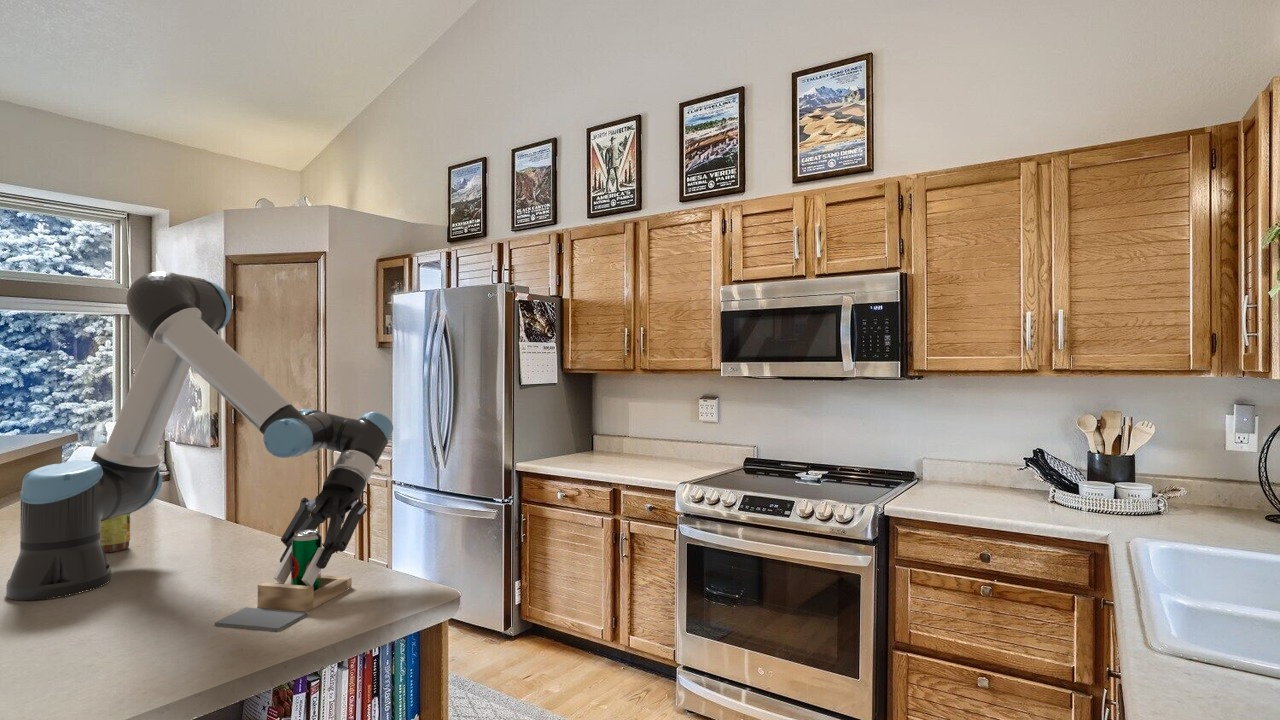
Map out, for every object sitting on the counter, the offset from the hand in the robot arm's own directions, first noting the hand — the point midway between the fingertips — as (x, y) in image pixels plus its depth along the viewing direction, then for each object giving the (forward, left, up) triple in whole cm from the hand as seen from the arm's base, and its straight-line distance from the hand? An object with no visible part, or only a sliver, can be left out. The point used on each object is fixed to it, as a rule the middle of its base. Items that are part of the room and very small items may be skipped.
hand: (292, 582), depth 120 cm
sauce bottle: (-63, +22, -4) cm, 67 cm away
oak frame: (0, +4, -4) cm, 6 cm away
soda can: (0, +4, -4) cm, 6 cm away
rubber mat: (0, -8, -4) cm, 9 cm away
